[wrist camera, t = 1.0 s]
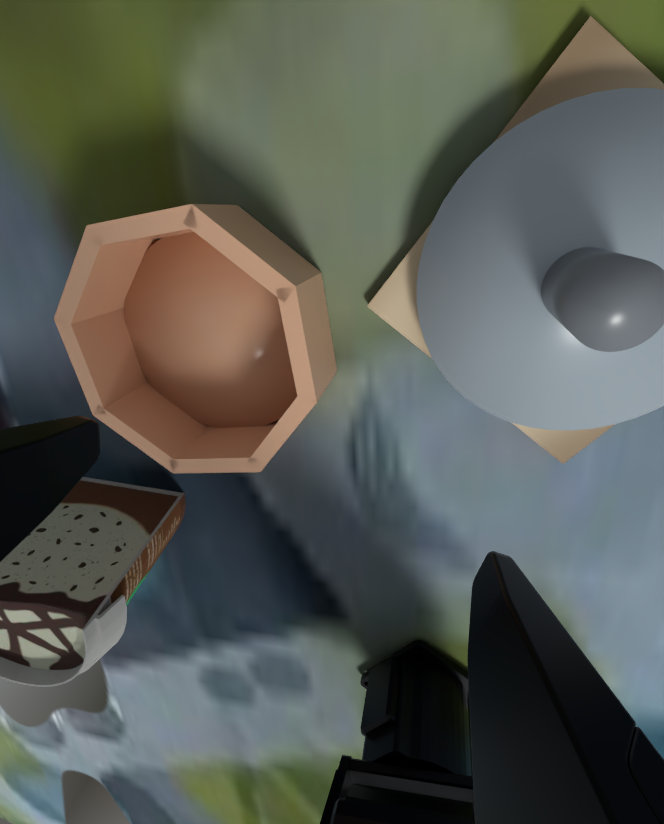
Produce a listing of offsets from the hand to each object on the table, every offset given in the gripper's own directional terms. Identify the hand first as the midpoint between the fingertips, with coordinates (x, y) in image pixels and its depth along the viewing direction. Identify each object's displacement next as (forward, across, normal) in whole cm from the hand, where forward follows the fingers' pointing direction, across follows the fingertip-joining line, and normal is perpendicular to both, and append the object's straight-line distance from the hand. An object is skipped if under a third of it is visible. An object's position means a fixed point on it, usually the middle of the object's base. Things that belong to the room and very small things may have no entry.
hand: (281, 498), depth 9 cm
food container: (+13, +13, +17) cm, 25 cm away
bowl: (+13, +7, +2) cm, 15 cm away
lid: (+12, -7, -5) cm, 15 cm away
